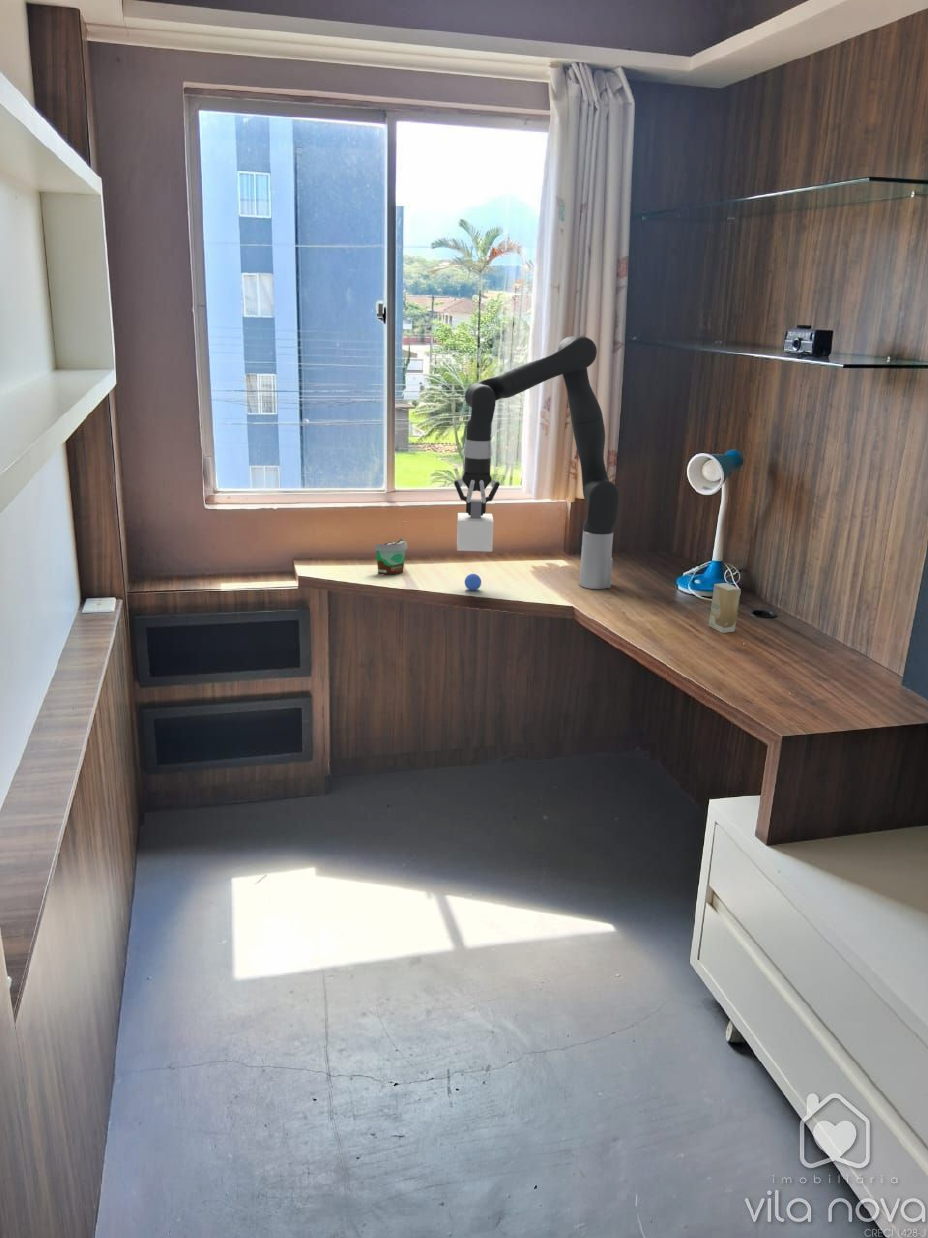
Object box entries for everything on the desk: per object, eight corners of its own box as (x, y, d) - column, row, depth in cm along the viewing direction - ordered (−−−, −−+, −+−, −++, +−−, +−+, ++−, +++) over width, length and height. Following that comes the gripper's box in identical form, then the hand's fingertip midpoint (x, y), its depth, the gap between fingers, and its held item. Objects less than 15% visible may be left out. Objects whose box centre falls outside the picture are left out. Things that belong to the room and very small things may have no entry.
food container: (389, 578, 294) (389, 547, 291) (374, 574, 298) (375, 543, 295) (415, 571, 304) (415, 540, 301) (400, 567, 307) (400, 537, 304)
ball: (482, 581, 281) (480, 594, 284) (481, 570, 284) (480, 583, 288) (465, 580, 281) (464, 593, 284) (465, 570, 284) (464, 583, 288)
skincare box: (707, 626, 258) (712, 583, 255) (720, 625, 260) (726, 582, 256) (722, 633, 253) (728, 589, 249) (735, 632, 254) (741, 588, 251)
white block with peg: (490, 542, 285) (492, 497, 281) (492, 551, 276) (494, 505, 271) (456, 541, 285) (458, 496, 280) (457, 550, 275) (458, 503, 271)
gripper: (501, 454, 275) (498, 513, 281) (453, 453, 275) (451, 511, 280) (503, 458, 268) (500, 518, 274) (453, 456, 268) (451, 516, 273)
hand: (475, 514), depth 277 cm, fingers closed on white block with peg, 3 cm apart
